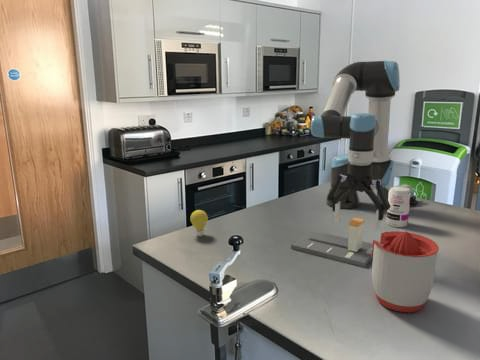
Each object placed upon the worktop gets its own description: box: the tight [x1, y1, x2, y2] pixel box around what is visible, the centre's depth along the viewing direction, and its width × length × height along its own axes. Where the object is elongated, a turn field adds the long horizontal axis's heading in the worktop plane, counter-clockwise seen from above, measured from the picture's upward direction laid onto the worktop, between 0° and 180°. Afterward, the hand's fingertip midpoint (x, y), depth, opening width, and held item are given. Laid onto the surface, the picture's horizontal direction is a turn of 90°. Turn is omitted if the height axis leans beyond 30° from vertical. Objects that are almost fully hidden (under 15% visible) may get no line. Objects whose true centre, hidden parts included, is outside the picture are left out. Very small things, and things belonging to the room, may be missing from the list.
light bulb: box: [189, 209, 209, 237], centre depth 151 cm, size 7×7×10 cm
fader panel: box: [290, 229, 373, 268], centre depth 138 cm, size 16×26×2 cm, turn 55°
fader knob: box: [348, 217, 365, 252], centre depth 133 cm, size 5×3×10 cm, turn 145°
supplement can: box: [385, 185, 411, 229], centre depth 158 cm, size 8×8×15 cm
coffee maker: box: [376, 183, 418, 207], centre depth 185 cm, size 15×9×18 cm
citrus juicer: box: [366, 230, 440, 314], centre depth 104 cm, size 16×17×20 cm
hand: (356, 224), depth 132 cm, fingers open, 13 cm apart
